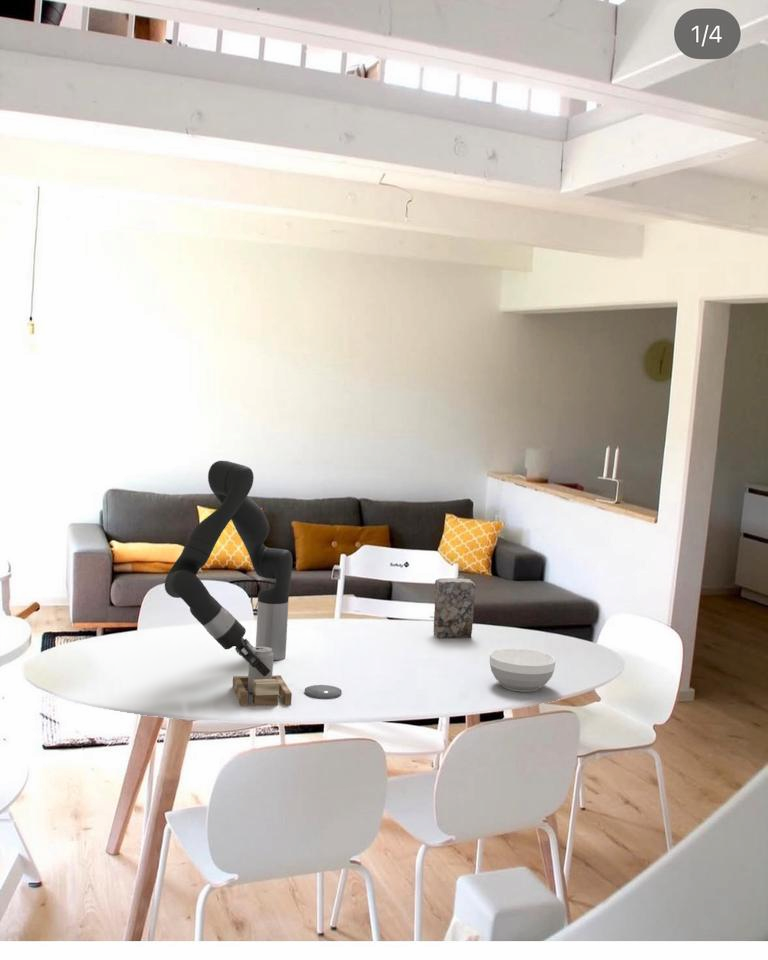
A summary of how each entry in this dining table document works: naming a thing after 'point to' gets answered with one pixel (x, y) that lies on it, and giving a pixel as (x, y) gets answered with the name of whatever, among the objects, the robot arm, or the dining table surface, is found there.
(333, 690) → the slate coaster
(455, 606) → the stone block
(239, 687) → the frame
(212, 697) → the dining table surface
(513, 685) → the bowl
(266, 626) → the robot arm
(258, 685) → the birch offcut
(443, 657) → the dining table surface
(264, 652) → the beverage can
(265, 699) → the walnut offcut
